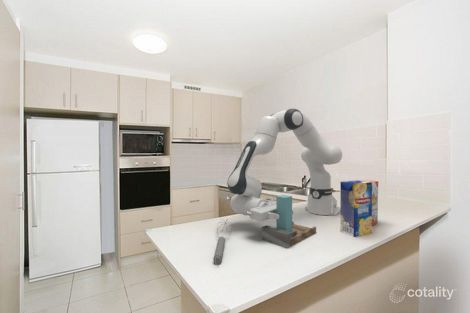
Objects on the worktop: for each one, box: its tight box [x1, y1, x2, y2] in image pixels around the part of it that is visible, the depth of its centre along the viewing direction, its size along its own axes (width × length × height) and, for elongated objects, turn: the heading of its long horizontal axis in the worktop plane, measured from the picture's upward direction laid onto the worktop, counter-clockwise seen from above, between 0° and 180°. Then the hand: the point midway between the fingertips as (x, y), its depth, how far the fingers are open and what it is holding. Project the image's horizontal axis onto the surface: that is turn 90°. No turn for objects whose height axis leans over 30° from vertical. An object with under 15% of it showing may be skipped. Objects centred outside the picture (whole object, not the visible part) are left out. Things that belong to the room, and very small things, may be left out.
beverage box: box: [339, 179, 373, 238], centre depth 97 cm, size 7×11×22 cm, turn 114°
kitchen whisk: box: [213, 219, 232, 267], centre depth 84 cm, size 6×34×6 cm, turn 178°
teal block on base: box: [275, 194, 297, 237], centre depth 90 cm, size 7×7×16 cm
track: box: [261, 220, 317, 249], centre depth 93 cm, size 22×12×5 cm, turn 134°
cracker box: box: [364, 179, 379, 226], centre depth 108 cm, size 14×6×21 cm, turn 129°
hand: (286, 214), depth 90 cm, fingers open, 8 cm apart
